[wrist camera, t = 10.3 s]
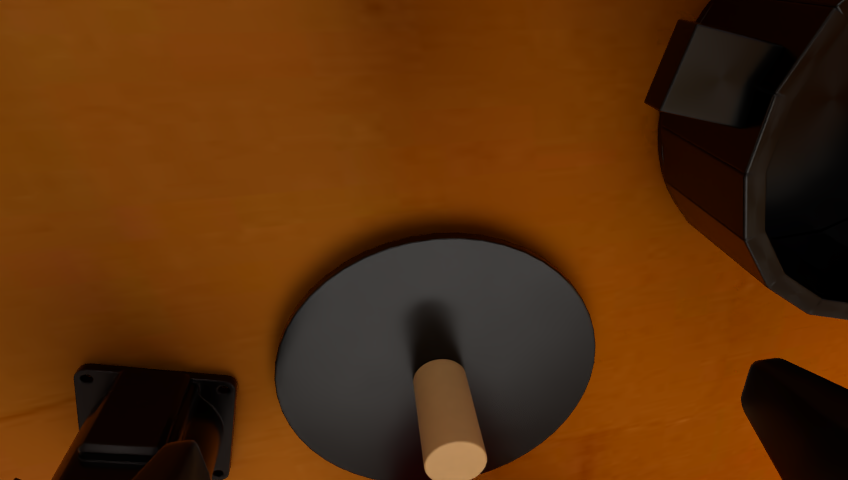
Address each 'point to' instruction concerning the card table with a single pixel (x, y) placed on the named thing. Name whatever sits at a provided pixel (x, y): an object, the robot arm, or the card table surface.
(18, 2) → the card table surface
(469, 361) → the saucepan lid
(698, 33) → the saucepan
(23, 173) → the card table surface
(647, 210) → the card table surface
